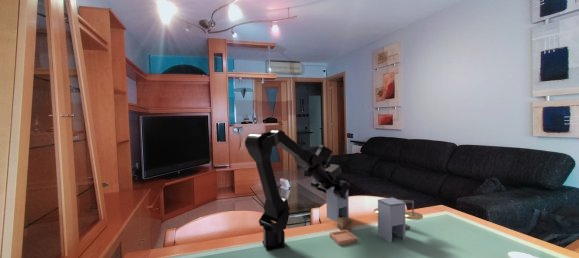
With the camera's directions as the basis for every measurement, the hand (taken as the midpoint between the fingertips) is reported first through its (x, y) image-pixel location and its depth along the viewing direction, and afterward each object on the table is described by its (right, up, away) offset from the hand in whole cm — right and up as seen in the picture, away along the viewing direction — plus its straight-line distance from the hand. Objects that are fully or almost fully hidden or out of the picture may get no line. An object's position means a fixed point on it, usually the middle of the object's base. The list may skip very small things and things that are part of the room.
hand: (339, 196), depth 117 cm
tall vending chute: (-1, -9, 0) cm, 9 cm away
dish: (-3, -10, -20) cm, 23 cm away
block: (0, -10, -12) cm, 15 cm away
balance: (+20, -9, -10) cm, 24 cm away
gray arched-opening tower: (+15, -10, -19) cm, 26 cm away
